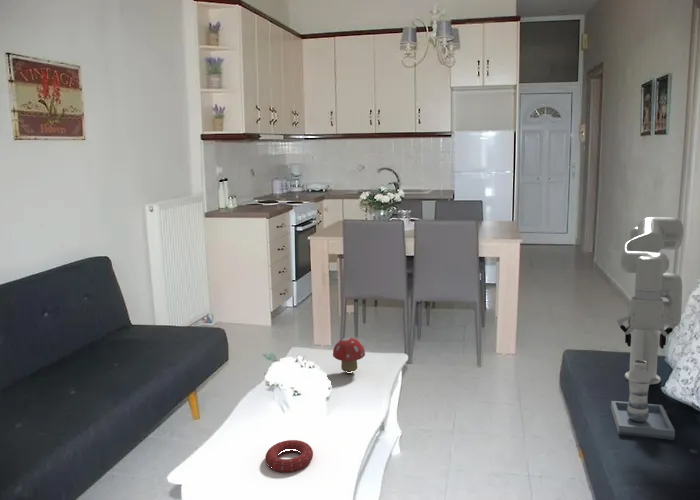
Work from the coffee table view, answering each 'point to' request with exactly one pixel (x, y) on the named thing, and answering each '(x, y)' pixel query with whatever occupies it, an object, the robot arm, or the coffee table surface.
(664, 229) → the robot arm
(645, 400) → the plastic bottle
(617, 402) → the tray
